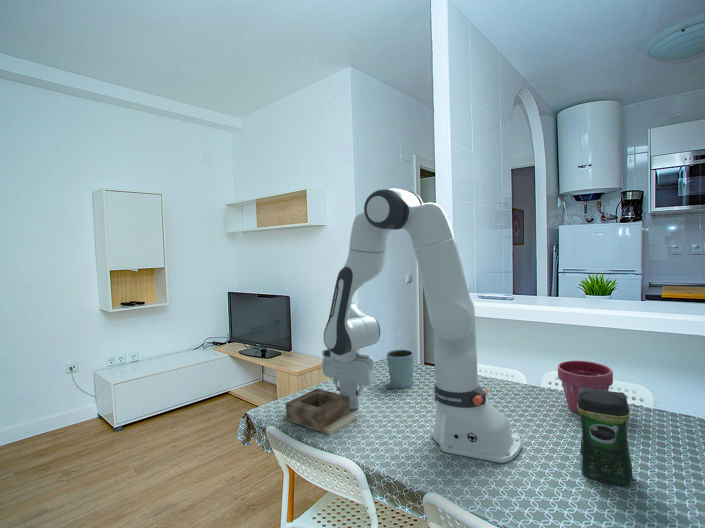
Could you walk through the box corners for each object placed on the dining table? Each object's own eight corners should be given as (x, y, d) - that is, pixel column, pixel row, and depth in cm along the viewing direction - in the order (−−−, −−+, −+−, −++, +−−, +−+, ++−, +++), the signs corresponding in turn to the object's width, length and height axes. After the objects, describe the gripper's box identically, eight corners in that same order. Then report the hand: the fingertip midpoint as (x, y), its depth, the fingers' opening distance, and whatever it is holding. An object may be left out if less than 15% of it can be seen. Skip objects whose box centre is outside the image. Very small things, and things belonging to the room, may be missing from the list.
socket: (357, 417, 119) (356, 398, 119) (327, 436, 108) (326, 415, 108) (311, 403, 131) (310, 386, 131) (280, 419, 121) (279, 401, 120)
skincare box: (359, 403, 129) (357, 369, 129) (358, 409, 125) (356, 373, 124) (342, 404, 130) (339, 369, 129) (340, 409, 125) (338, 373, 125)
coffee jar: (632, 471, 84) (629, 388, 83) (633, 491, 78) (630, 401, 77) (581, 459, 90) (578, 381, 89) (577, 477, 83) (574, 393, 82)
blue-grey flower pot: (419, 381, 147) (417, 350, 146) (408, 390, 138) (406, 358, 137) (395, 378, 152) (393, 348, 151) (383, 386, 143) (381, 355, 143)
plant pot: (604, 424, 105) (602, 379, 104) (551, 410, 116) (549, 368, 115) (620, 408, 114) (619, 366, 114) (570, 396, 125) (568, 357, 124)
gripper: (378, 353, 122) (380, 396, 123) (330, 346, 135) (333, 384, 136) (366, 358, 117) (369, 403, 118) (318, 350, 130) (320, 390, 131)
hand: (349, 393), depth 127 cm, fingers closed on skincare box, 7 cm apart
